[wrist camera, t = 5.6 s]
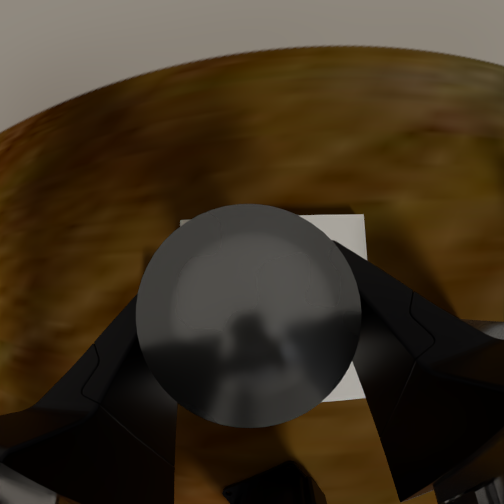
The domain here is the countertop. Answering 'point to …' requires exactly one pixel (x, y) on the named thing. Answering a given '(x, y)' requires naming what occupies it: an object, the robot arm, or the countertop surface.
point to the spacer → (248, 315)
